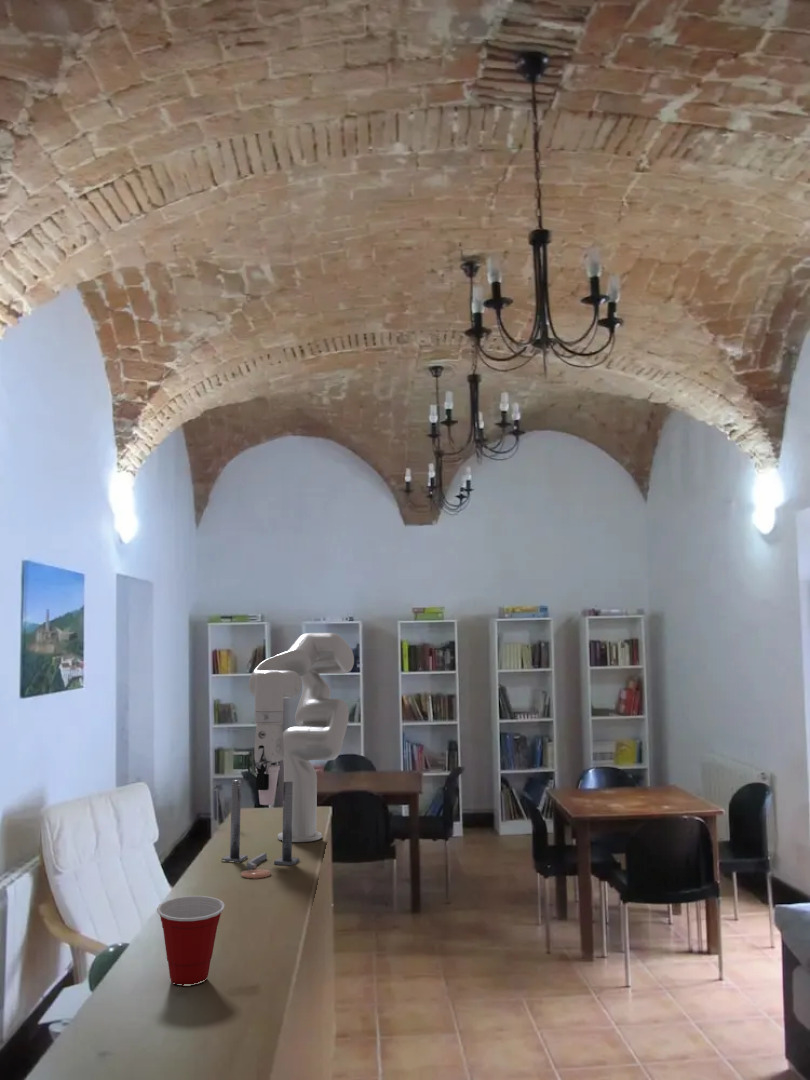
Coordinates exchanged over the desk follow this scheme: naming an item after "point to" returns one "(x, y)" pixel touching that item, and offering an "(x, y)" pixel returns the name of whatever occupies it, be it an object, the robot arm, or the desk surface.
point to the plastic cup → (189, 936)
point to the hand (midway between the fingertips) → (267, 787)
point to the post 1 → (235, 824)
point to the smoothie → (270, 786)
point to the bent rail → (256, 861)
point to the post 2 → (287, 827)
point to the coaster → (256, 873)
